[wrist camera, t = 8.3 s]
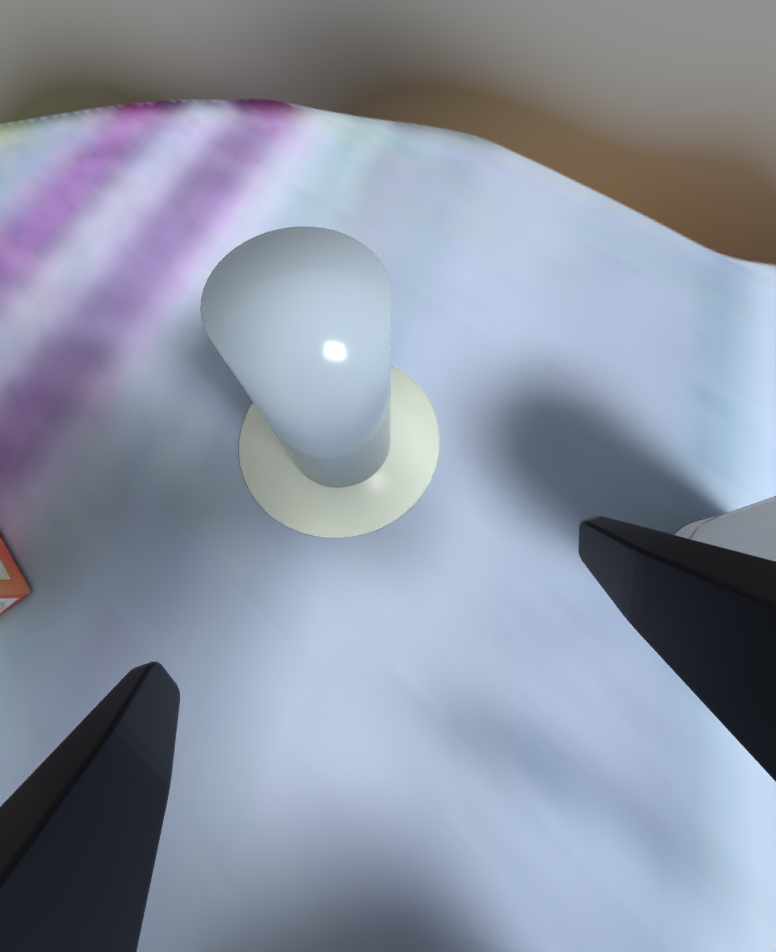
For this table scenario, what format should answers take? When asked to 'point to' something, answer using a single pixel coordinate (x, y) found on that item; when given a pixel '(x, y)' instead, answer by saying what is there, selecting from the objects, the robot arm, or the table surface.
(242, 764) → the table surface
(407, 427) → the mat
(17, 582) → the cracker box
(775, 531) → the cup
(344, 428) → the grey cylinder
